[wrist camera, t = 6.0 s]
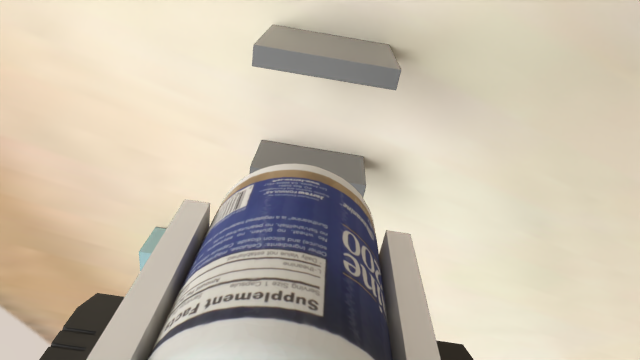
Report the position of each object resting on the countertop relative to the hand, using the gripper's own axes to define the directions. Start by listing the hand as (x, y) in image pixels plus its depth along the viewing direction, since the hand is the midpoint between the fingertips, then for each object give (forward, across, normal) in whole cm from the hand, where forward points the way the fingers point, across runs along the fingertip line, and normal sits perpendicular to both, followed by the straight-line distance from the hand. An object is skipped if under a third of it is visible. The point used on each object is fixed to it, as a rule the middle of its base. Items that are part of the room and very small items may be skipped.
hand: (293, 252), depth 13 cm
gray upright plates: (+15, 0, 0) cm, 15 cm away
